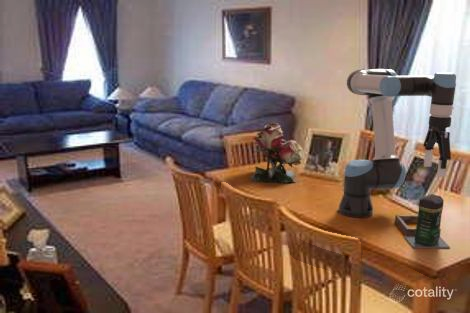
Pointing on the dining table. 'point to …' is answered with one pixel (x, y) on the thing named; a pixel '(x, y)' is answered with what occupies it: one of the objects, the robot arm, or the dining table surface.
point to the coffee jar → (429, 220)
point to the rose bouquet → (276, 155)
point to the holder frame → (404, 219)
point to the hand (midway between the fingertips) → (434, 171)
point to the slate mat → (414, 244)
